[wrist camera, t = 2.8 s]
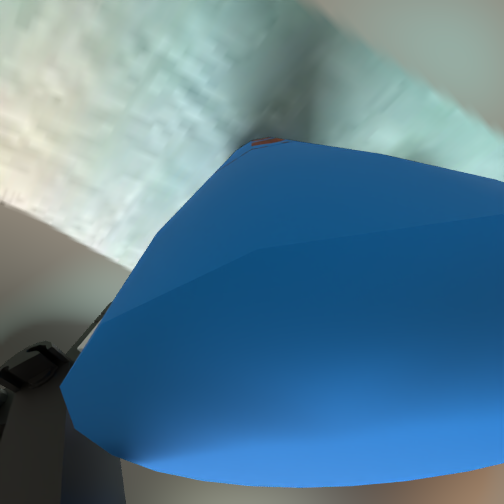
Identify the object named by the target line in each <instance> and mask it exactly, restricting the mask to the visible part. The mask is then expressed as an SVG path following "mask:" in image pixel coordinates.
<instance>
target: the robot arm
mask: <svg viewBox="0 0 504 504" xmlns="http://www.w3.org/2000/svg"><path fill="white" fill-rule="evenodd" d="M112 302H113V301H112ZM112 302H111V303H112ZM111 303H110V304H109V305H108V306H107V307H106V308H105V309H104V310H103V312H102V313H101V315H99V317H97V319H96V320H95V322H94V323H92V324H91V326H90V327H89V328H88V329H87V330H86V331H85V333H84V334H83V335H82V336H81V337H80V338H79V340H78V341H77V342H76V343H75V344H74V345H73V346H72V348H71V349H70V350H69V351H68V352H67V353H66V354H64V353H63V352H62V351H61V350H60V349H58V348H57V347H56V346H55V345H54V344H53V343H51V342H48V341H43V342H39V343H36V344H33V345H31V346H29V347H27V348H25V349H24V350H22V351H20V352H18V353H17V354H15V355H14V356H13V357H11V358H10V359H9V360H7V361H6V362H5V363H4V364H3V365H2V366H1V367H0V384H1V385H2V386H4V387H6V388H5V389H1V388H0V504H126V500H125V493H124V485H123V477H122V470H121V462H120V458H119V457H116V456H113V455H111V454H110V453H108V452H107V451H105V450H104V449H103V448H101V447H100V446H98V445H97V444H96V443H94V442H93V441H91V440H90V439H89V438H87V437H86V436H84V435H83V434H81V433H80V432H79V431H77V430H76V429H75V428H74V425H73V423H72V420H71V417H70V414H69V412H68V409H67V406H66V403H65V401H64V398H63V395H62V392H61V389H60V385H61V384H62V382H63V380H64V379H65V377H66V376H67V374H68V372H69V371H70V369H71V368H72V366H73V364H74V363H75V361H76V360H77V358H78V356H79V355H80V353H81V352H82V350H83V348H84V347H85V345H86V344H87V342H88V340H89V339H90V337H91V335H92V334H93V332H94V331H95V329H96V327H97V326H98V324H99V323H100V321H101V319H102V318H103V316H104V315H105V313H106V311H107V310H108V308H109V307H110V305H111Z"/></svg>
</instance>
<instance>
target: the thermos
mask: <svg viewBox="0 0 504 504" xmlns="http://www.w3.org/2000/svg"><path fill="white" fill-rule="evenodd" d="M60 389H61V392H62V395H63V398H64V401H65V403H66V406H67V409H68V412H69V414H70V417H71V420H72V423H73V425H74V428H75V429H76V430H77V431H79V432H80V433H81V434H83V435H84V436H86V437H87V438H89V439H90V440H91V441H93V442H94V443H96V444H97V445H98V446H100V447H101V448H103V449H104V450H105V451H107V452H108V453H110V454H111V455H113V456H116V457H119V458H122V459H124V460H127V461H130V462H132V463H135V464H138V465H141V466H144V467H146V468H149V469H152V470H154V471H158V472H163V473H168V474H172V475H178V476H182V477H187V478H192V479H197V480H202V481H209V482H218V483H228V484H237V485H246V486H267V487H268V486H269V487H296V488H303V487H336V486H356V485H368V484H378V483H389V482H400V481H408V480H416V479H422V478H428V477H434V476H441V475H447V474H454V473H460V472H467V471H471V470H475V469H480V468H484V467H489V466H493V465H497V464H502V463H504V182H501V181H498V180H495V179H490V178H486V177H481V176H477V175H472V174H468V173H464V172H459V171H455V170H450V169H446V168H441V167H437V166H432V165H428V164H423V163H419V162H415V161H410V160H406V159H401V158H397V157H392V156H388V155H383V154H378V153H371V152H365V151H358V150H352V149H345V148H338V147H332V146H325V145H319V144H312V143H306V142H299V141H293V140H286V139H279V138H273V137H267V138H262V139H257V140H252V141H250V142H249V143H247V144H246V145H244V146H243V147H241V148H239V149H238V150H236V151H235V152H234V153H233V154H232V155H231V156H230V158H229V159H228V160H227V161H226V162H225V163H224V164H223V165H222V166H221V167H220V168H219V169H218V170H217V171H216V172H215V173H214V174H213V175H212V176H211V177H210V178H209V179H208V180H207V181H206V183H205V184H204V185H203V186H202V187H201V188H200V189H199V190H198V191H197V192H196V193H195V194H194V195H193V196H192V197H191V198H190V199H189V200H188V201H187V202H186V203H185V204H184V205H183V207H182V208H181V209H180V210H179V211H178V212H177V213H176V214H175V215H174V216H173V217H172V218H171V219H170V220H169V221H168V222H167V223H166V224H165V225H164V226H163V227H162V228H161V229H160V230H159V232H158V233H157V234H156V235H155V237H154V238H153V240H152V242H151V243H150V245H149V246H148V248H147V249H146V251H145V252H144V254H143V255H142V257H141V258H140V260H139V261H138V263H137V265H136V266H135V268H134V269H133V271H132V272H131V274H130V275H129V277H128V279H127V280H126V282H125V283H124V285H123V286H122V288H121V289H120V291H119V292H118V294H117V295H116V297H115V299H114V300H113V302H112V303H111V305H110V307H109V308H108V310H107V311H106V313H105V315H104V316H103V318H102V319H101V321H100V323H99V324H98V326H97V327H96V329H95V331H94V332H93V334H92V335H91V337H90V339H89V340H88V342H87V344H86V345H85V347H84V348H83V350H82V352H81V353H80V355H79V356H78V358H77V360H76V361H75V363H74V364H73V366H72V368H71V369H70V371H69V372H68V374H67V376H66V377H65V379H64V380H63V382H62V384H61V385H60Z"/></svg>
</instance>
